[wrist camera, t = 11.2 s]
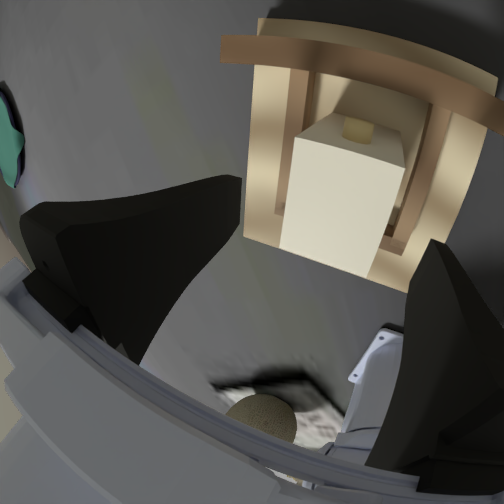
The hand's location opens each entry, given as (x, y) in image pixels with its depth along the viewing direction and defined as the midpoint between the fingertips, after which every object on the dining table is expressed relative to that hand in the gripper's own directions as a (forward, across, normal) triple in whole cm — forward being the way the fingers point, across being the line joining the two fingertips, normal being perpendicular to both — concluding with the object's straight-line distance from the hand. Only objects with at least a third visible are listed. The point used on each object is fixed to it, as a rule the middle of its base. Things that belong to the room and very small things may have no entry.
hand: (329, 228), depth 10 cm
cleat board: (+9, 0, 0) cm, 9 cm away
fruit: (+9, +1, +36) cm, 37 cm away
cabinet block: (+8, 0, 0) cm, 8 cm away
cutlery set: (+10, +61, 0) cm, 62 cm away
